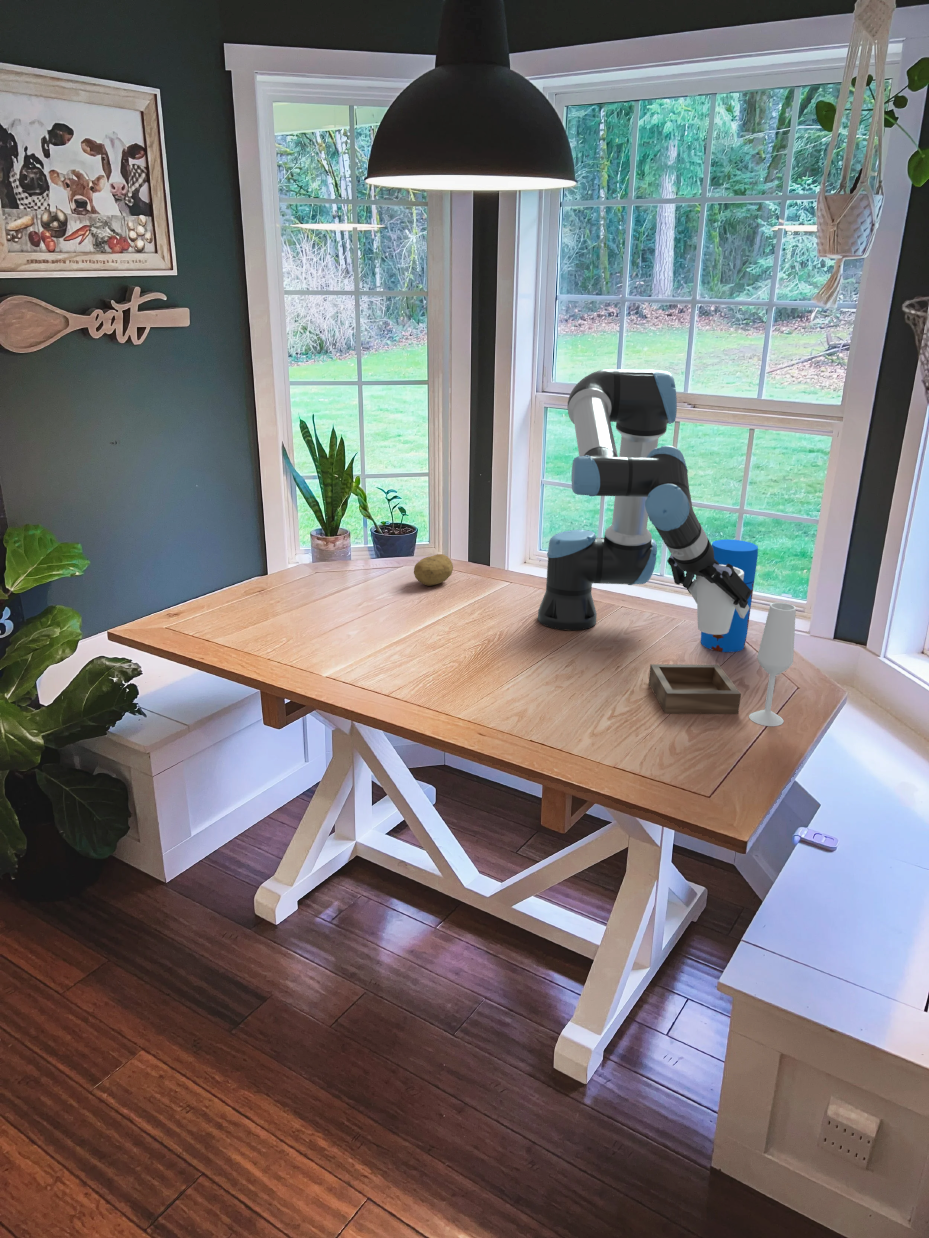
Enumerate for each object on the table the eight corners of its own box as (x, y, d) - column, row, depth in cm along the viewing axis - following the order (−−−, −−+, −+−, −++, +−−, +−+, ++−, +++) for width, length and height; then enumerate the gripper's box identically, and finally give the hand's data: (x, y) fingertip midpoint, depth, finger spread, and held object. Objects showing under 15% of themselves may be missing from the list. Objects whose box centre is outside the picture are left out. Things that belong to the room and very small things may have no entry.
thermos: (694, 646, 216) (706, 547, 208) (705, 633, 225) (716, 537, 217) (740, 655, 211) (754, 553, 203) (749, 641, 220) (763, 543, 212)
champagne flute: (745, 710, 183) (761, 599, 175) (779, 712, 183) (796, 601, 175) (752, 725, 177) (768, 611, 169) (787, 727, 177) (805, 613, 168)
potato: (404, 586, 256) (403, 560, 253) (433, 575, 267) (433, 549, 264) (431, 593, 251) (431, 566, 248) (460, 581, 262) (460, 555, 259)
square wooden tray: (648, 683, 195) (650, 664, 194) (716, 683, 196) (718, 664, 194) (665, 713, 181) (667, 693, 180) (738, 713, 182) (740, 693, 180)
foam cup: (687, 633, 186) (693, 573, 182) (693, 619, 194) (699, 562, 190) (734, 639, 183) (742, 579, 179) (738, 626, 191) (746, 567, 187)
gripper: (633, 550, 180) (670, 608, 196) (731, 574, 165) (763, 635, 181) (651, 520, 182) (686, 580, 197) (749, 542, 167) (779, 605, 182)
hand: (723, 606), depth 189 cm, fingers closed on foam cup, 9 cm apart
